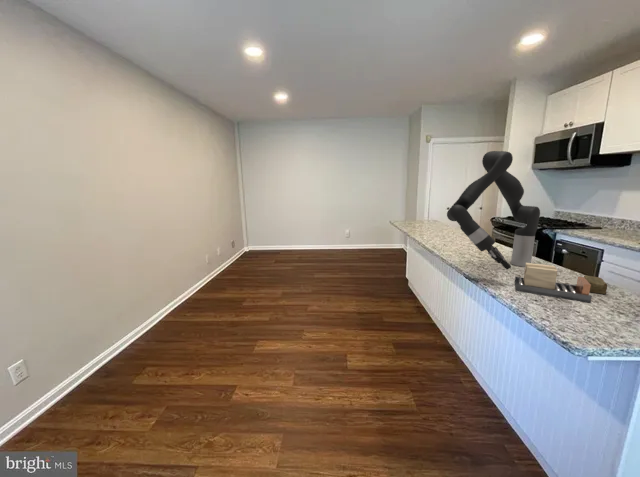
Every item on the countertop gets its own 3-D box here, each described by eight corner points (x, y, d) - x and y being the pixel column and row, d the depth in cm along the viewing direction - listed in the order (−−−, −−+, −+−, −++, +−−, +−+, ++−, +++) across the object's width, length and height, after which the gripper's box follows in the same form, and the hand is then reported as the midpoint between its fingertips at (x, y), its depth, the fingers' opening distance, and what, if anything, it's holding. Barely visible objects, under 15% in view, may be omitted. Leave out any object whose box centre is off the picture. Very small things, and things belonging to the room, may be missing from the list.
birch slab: (523, 279, 126) (525, 262, 124) (551, 283, 121) (554, 266, 119) (524, 284, 119) (527, 267, 118) (554, 289, 114) (557, 271, 113)
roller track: (514, 282, 130) (516, 268, 128) (583, 292, 117) (586, 276, 116) (515, 290, 120) (517, 275, 119) (590, 302, 107) (594, 286, 106)
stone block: (587, 292, 117) (589, 281, 116) (581, 284, 127) (583, 274, 126) (606, 295, 114) (609, 284, 113) (598, 287, 124) (600, 276, 123)
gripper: (487, 236, 122) (517, 267, 118) (488, 231, 132) (516, 259, 128) (472, 246, 126) (501, 276, 121) (475, 241, 136) (501, 268, 132)
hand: (509, 268), depth 125 cm, fingers closed
